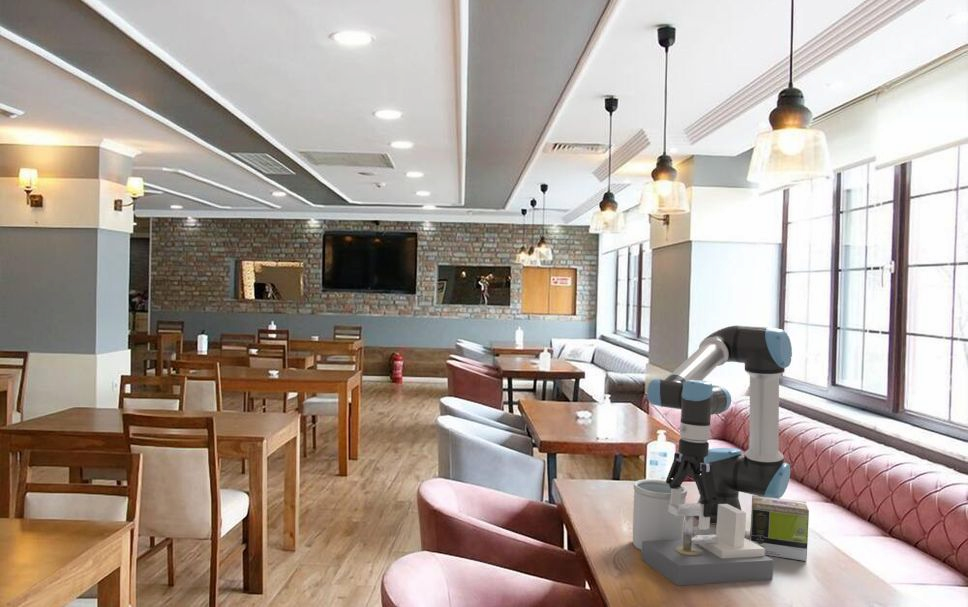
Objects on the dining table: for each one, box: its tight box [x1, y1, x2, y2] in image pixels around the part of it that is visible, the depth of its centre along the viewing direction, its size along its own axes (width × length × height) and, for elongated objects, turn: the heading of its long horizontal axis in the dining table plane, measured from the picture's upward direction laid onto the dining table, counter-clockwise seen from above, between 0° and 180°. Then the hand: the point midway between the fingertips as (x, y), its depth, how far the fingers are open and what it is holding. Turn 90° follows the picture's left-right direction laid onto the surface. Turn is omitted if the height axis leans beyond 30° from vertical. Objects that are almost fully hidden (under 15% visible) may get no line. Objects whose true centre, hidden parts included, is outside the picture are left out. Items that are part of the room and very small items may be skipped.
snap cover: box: [695, 504, 765, 558], centre depth 197 cm, size 13×12×11 cm
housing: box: [640, 538, 774, 587], centre depth 195 cm, size 28×18×5 cm, turn 107°
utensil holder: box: [632, 478, 688, 551], centre depth 211 cm, size 15×15×18 cm
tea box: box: [749, 495, 810, 562], centre depth 212 cm, size 15×10×15 cm, turn 71°
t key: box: [668, 502, 718, 551], centre depth 193 cm, size 14×4×12 cm, turn 107°
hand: (688, 520), depth 193 cm, fingers open, 13 cm apart
